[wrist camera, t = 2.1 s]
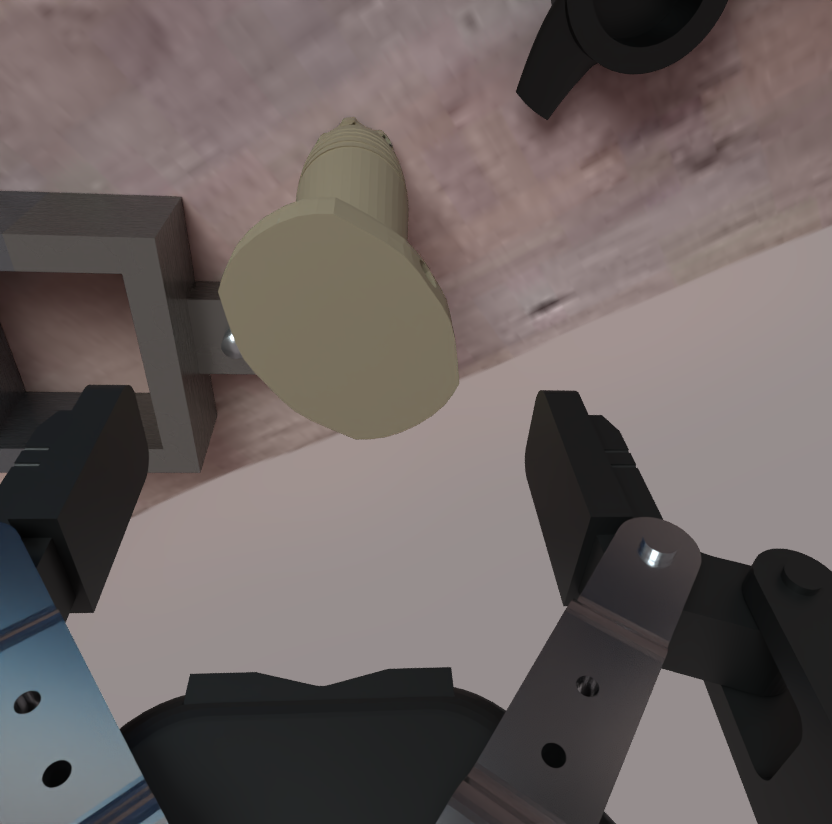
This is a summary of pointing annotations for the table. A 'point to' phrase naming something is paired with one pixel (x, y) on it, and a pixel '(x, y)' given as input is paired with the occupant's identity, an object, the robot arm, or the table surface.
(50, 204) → the bracket
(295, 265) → the handle
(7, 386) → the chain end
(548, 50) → the dark grey winged ring
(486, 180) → the table surface
